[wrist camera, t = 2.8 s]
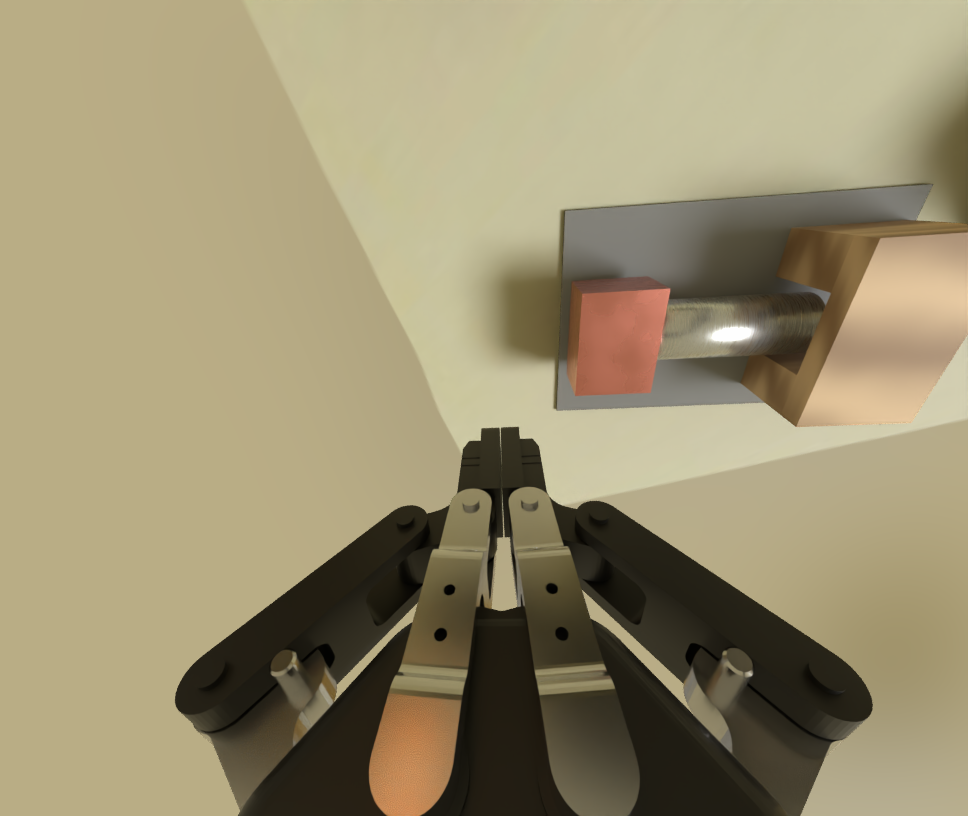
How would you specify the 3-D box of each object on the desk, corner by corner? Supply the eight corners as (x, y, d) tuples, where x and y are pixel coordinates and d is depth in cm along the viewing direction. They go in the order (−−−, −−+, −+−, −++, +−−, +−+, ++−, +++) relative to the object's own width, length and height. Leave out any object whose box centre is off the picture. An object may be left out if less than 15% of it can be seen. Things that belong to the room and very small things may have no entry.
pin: (564, 368, 28) (575, 396, 24) (568, 278, 25) (582, 293, 21) (764, 358, 28) (809, 386, 24) (798, 263, 24) (857, 277, 20)
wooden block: (791, 227, 23) (880, 238, 18) (907, 219, 23) (1035, 228, 17) (740, 383, 29) (796, 426, 24) (832, 379, 29) (911, 422, 23)
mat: (564, 210, 23) (565, 211, 23) (929, 184, 22) (933, 183, 22) (556, 409, 31) (556, 410, 31) (827, 398, 30) (829, 400, 29)
